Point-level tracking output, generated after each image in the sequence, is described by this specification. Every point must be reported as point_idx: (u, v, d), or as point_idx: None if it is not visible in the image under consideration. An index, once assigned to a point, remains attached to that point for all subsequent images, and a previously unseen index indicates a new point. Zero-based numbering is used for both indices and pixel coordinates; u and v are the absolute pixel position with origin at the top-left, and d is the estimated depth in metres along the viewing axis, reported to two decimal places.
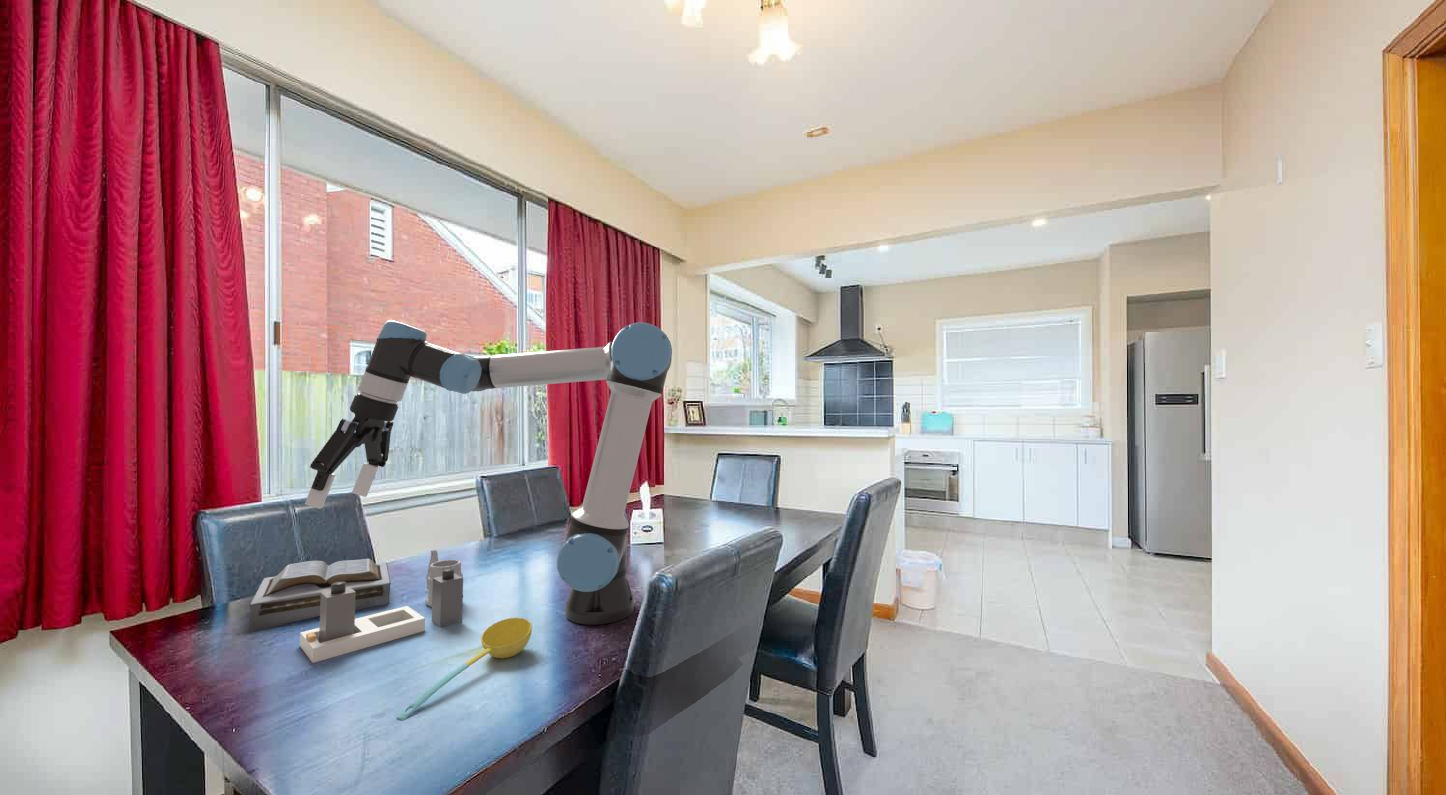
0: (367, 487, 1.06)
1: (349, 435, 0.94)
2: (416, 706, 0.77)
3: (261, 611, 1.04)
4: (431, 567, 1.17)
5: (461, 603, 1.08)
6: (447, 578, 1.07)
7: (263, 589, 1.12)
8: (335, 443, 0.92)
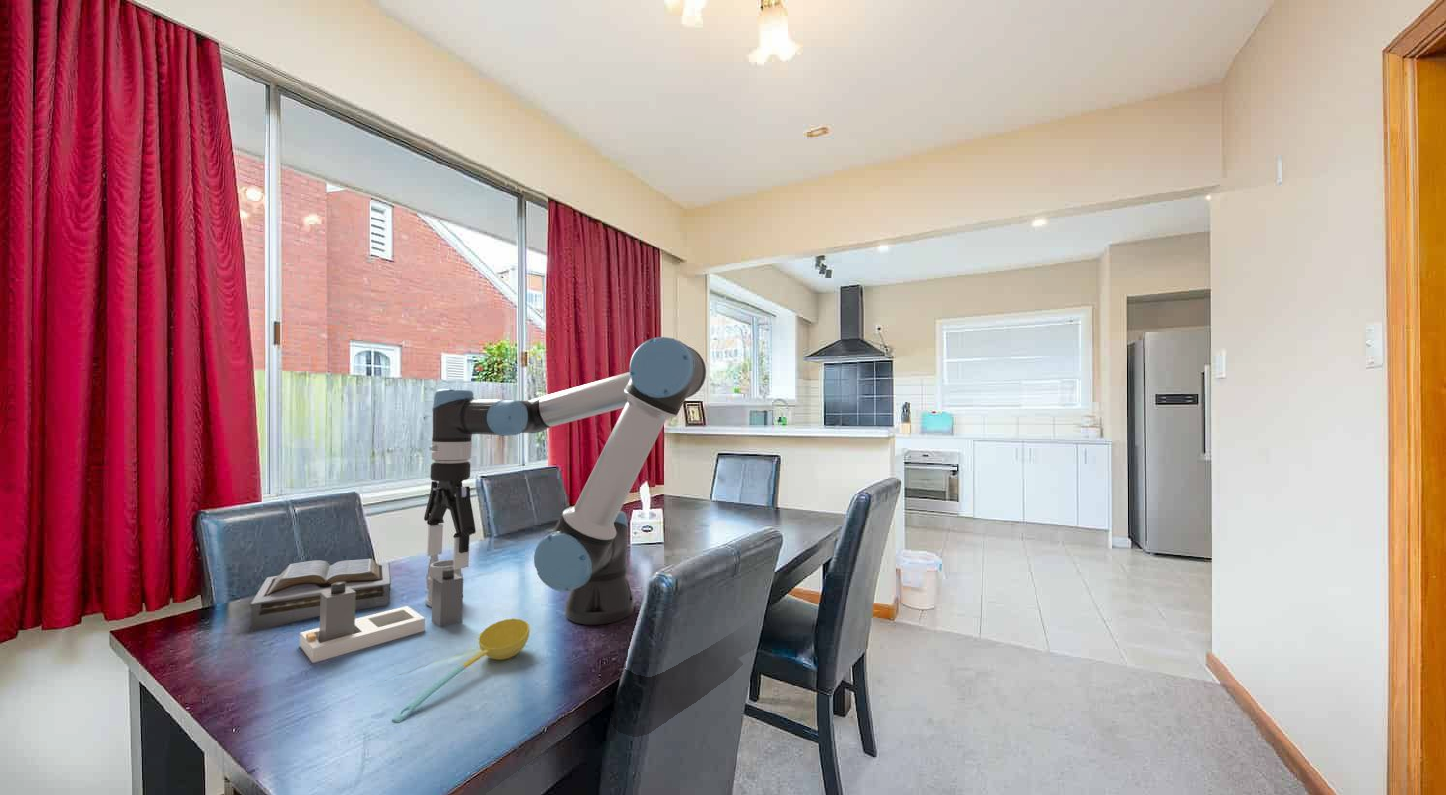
0: (441, 545, 1.14)
1: None
2: (412, 708, 0.76)
3: (261, 610, 1.05)
4: (431, 567, 1.17)
5: (461, 603, 1.08)
6: (447, 578, 1.07)
7: (264, 588, 1.12)
8: (466, 508, 1.04)
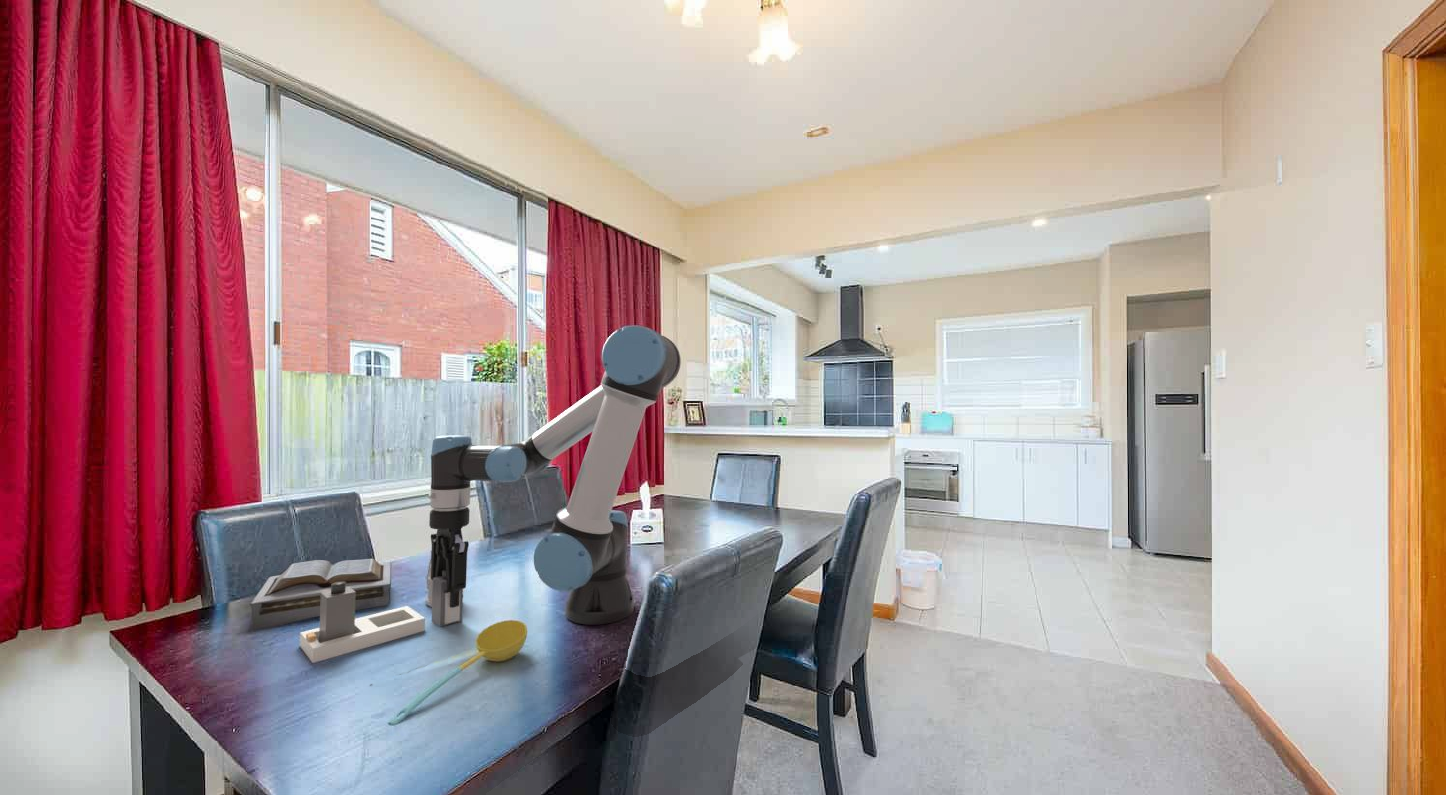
0: None
1: None
2: (408, 711, 0.76)
3: (262, 610, 1.05)
4: None
5: (461, 603, 1.08)
6: None
7: (266, 588, 1.12)
8: (461, 564, 1.05)
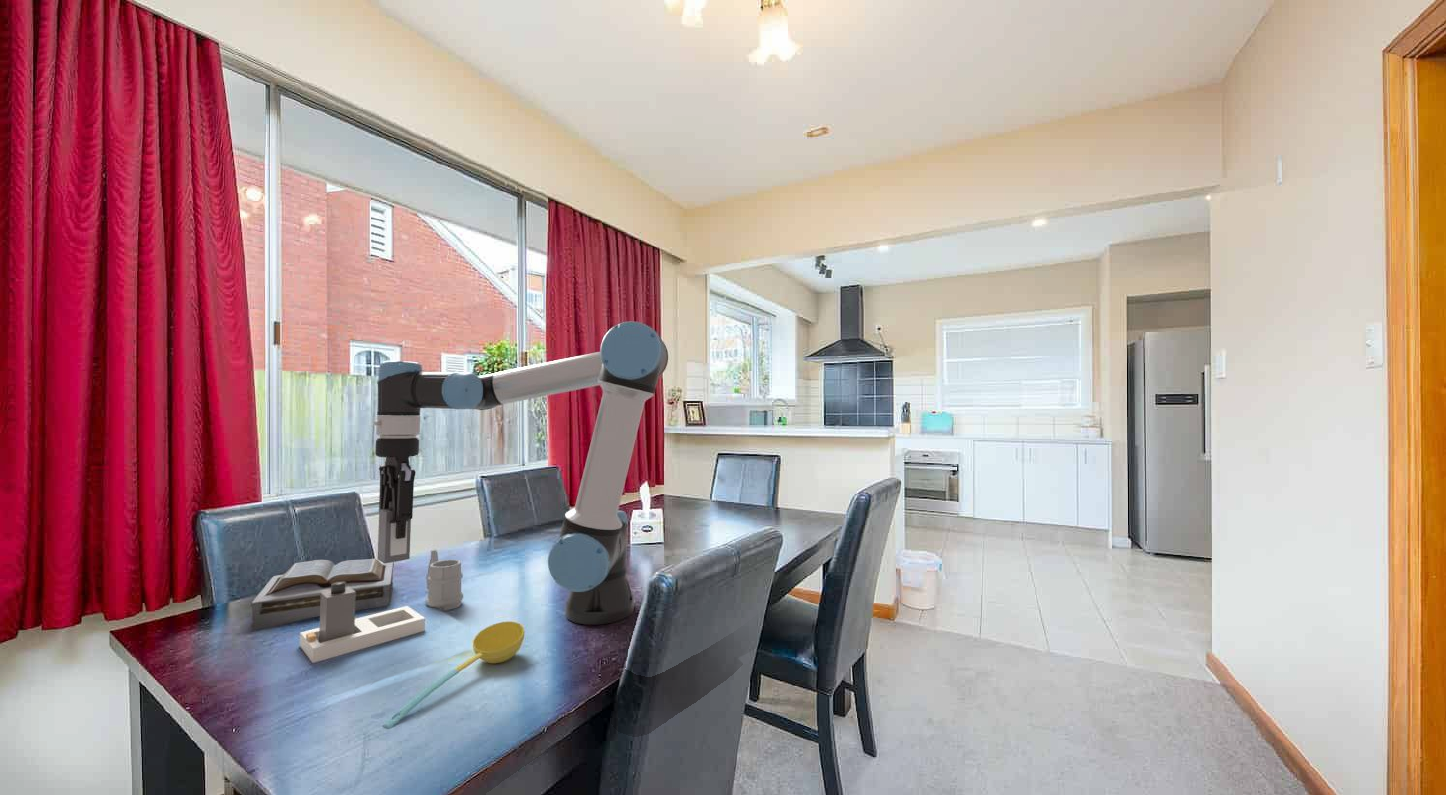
0: None
1: None
2: (403, 713, 0.75)
3: (262, 610, 1.05)
4: (431, 567, 1.17)
5: (409, 536, 1.04)
6: None
7: (268, 587, 1.13)
8: (406, 493, 1.00)
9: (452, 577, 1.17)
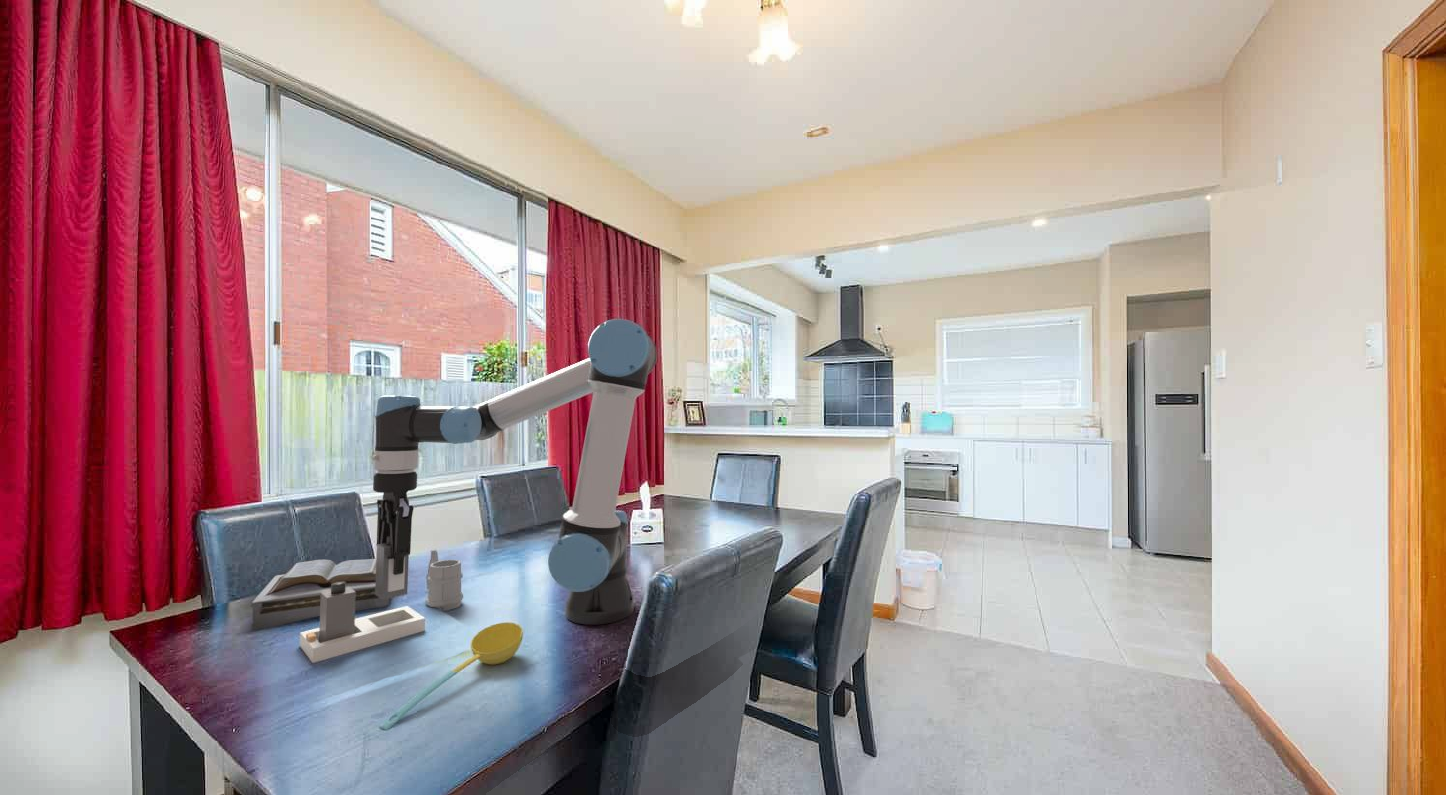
0: None
1: None
2: (400, 715, 0.75)
3: (262, 609, 1.05)
4: (431, 567, 1.17)
5: (406, 571, 1.03)
6: None
7: (269, 587, 1.13)
8: (404, 529, 1.00)
9: (452, 577, 1.17)
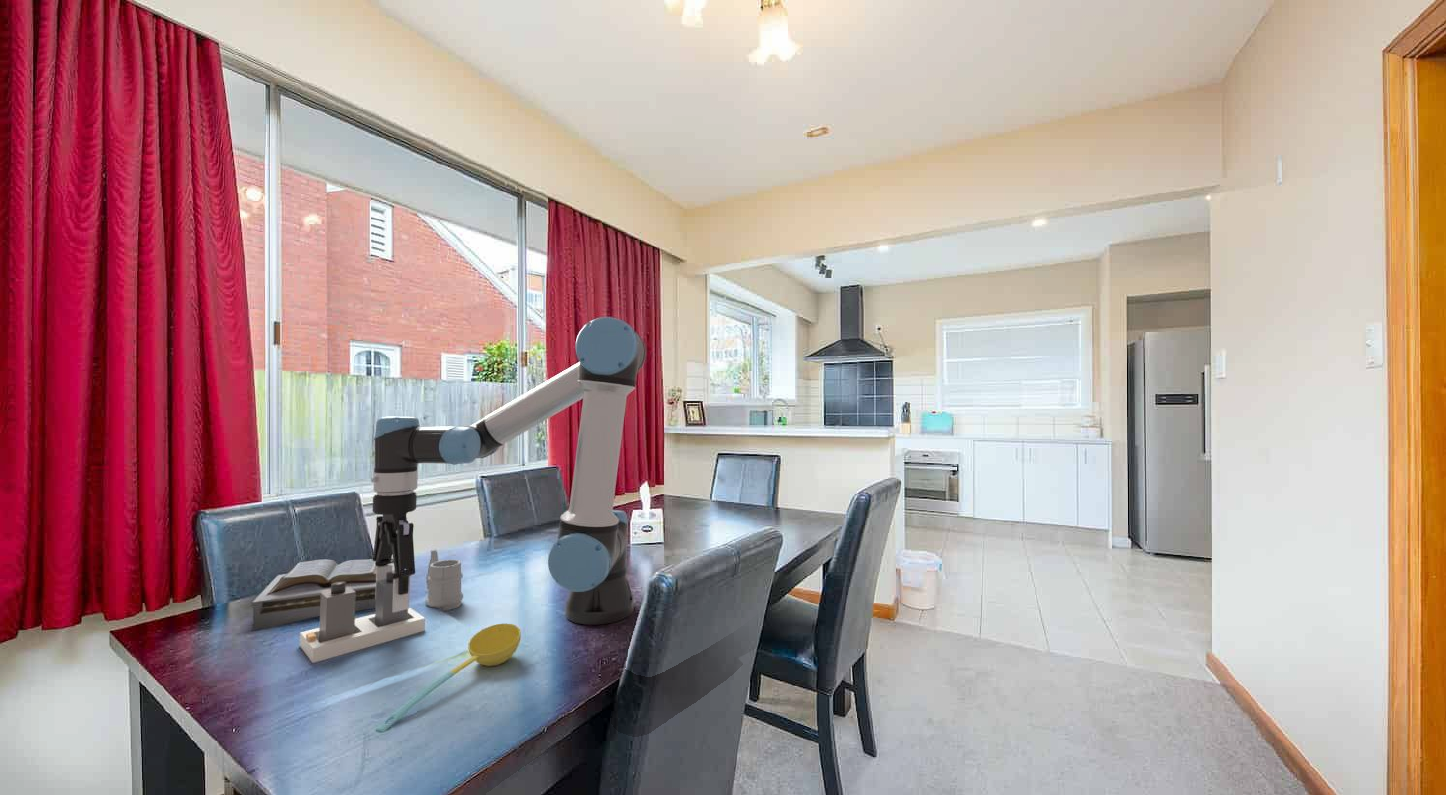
0: None
1: None
2: (397, 717, 0.74)
3: (263, 609, 1.05)
4: (431, 567, 1.17)
5: None
6: (391, 581, 1.02)
7: (271, 587, 1.13)
8: (407, 547, 0.99)
9: (452, 577, 1.17)
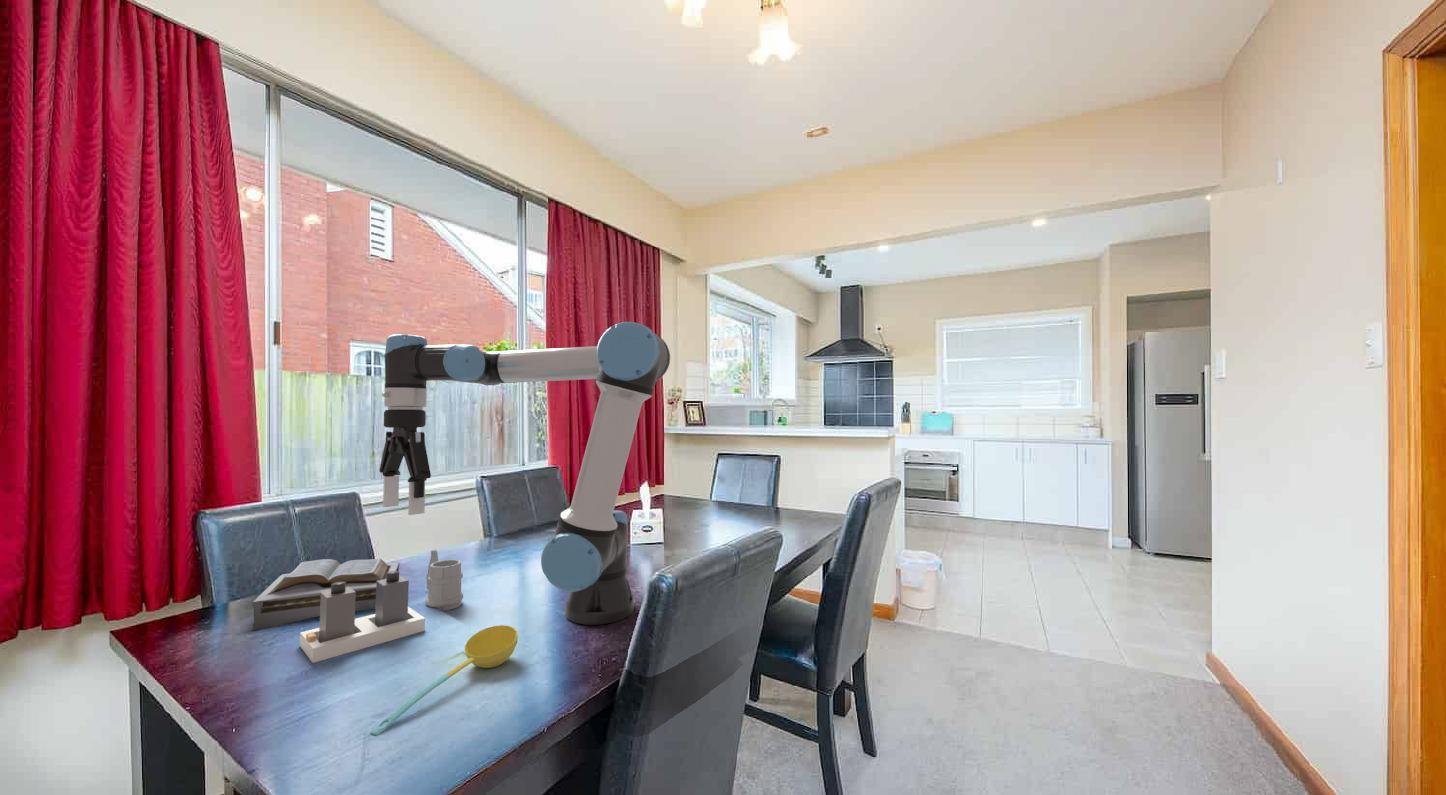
0: (397, 496, 1.12)
1: None
2: (392, 720, 0.73)
3: (263, 609, 1.06)
4: (431, 567, 1.17)
5: (406, 607, 1.03)
6: (391, 581, 1.02)
7: (273, 586, 1.14)
8: (420, 453, 1.02)
9: (452, 577, 1.17)
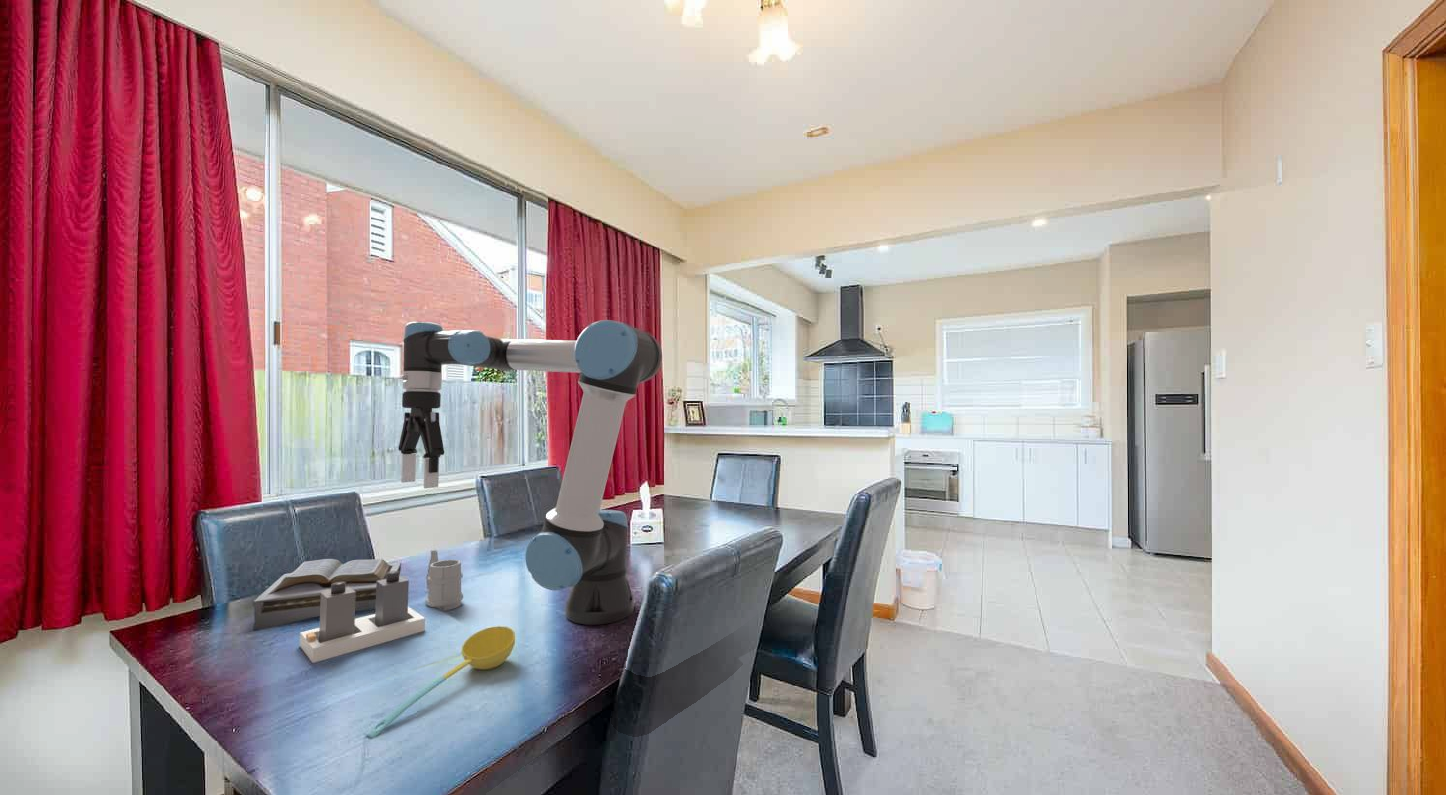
0: (414, 473, 1.21)
1: None
2: (387, 722, 0.73)
3: (263, 608, 1.06)
4: (431, 567, 1.17)
5: (406, 607, 1.03)
6: (391, 581, 1.02)
7: (274, 586, 1.14)
8: (435, 431, 1.11)
9: (452, 577, 1.17)
